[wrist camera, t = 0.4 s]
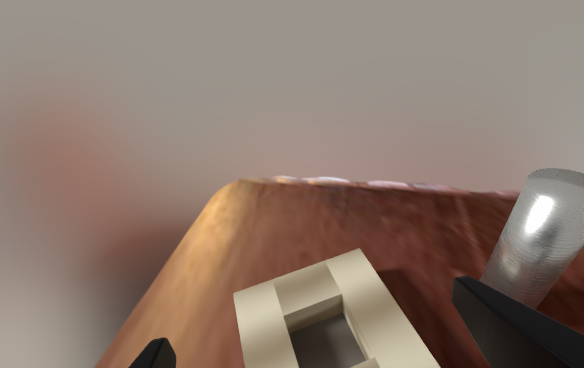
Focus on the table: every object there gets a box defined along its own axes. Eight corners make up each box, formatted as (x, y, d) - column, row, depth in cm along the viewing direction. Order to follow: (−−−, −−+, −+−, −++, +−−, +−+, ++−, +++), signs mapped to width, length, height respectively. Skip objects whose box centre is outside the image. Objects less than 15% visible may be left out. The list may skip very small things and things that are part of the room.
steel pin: (529, 330, 22) (636, 197, 14) (492, 347, 22) (580, 219, 13) (491, 292, 25) (560, 162, 17) (457, 306, 25) (511, 178, 16)
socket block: (445, 414, 19) (459, 394, 17) (277, 497, 17) (264, 489, 15) (359, 273, 28) (359, 248, 26) (244, 316, 26) (233, 293, 24)
